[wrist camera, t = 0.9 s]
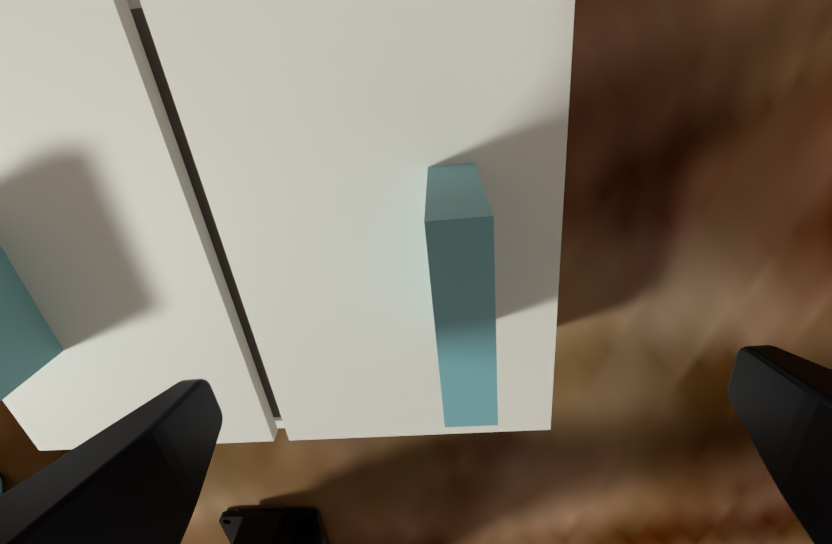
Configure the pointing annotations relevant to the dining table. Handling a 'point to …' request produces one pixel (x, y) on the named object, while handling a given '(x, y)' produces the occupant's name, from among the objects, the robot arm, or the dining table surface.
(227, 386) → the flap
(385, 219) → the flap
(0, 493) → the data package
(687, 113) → the dining table surface
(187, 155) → the carton
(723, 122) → the dining table surface
